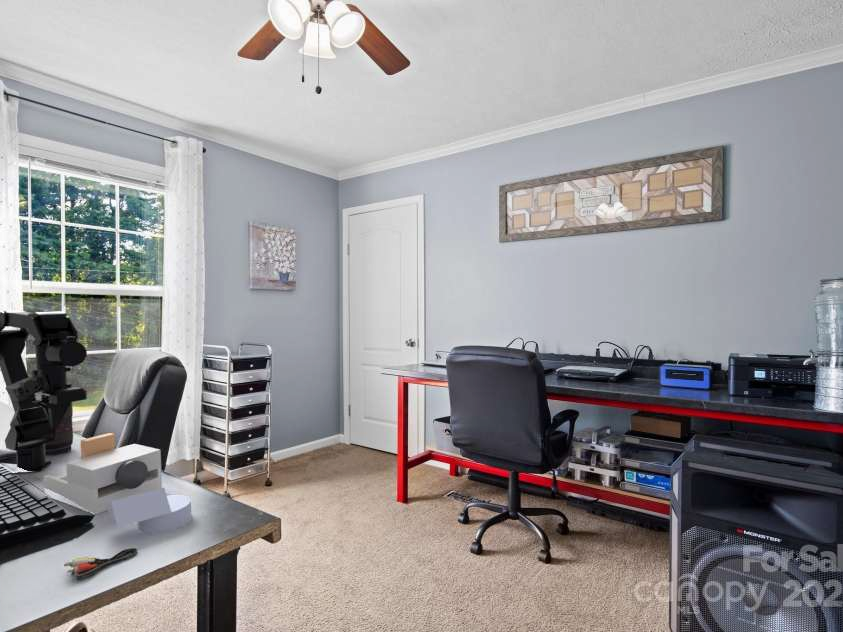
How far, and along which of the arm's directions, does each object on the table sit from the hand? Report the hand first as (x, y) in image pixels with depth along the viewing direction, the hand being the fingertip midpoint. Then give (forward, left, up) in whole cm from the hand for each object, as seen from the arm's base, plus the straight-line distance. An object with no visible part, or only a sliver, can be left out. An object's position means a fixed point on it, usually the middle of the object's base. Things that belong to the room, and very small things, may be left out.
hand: (54, 428), depth 114 cm
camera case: (+15, +15, -12) cm, 24 cm away
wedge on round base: (+35, +29, -12) cm, 47 cm away
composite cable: (+48, +25, -13) cm, 56 cm away
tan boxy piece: (+15, +15, -9) cm, 24 cm away
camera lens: (-23, -9, -12) cm, 28 cm away
